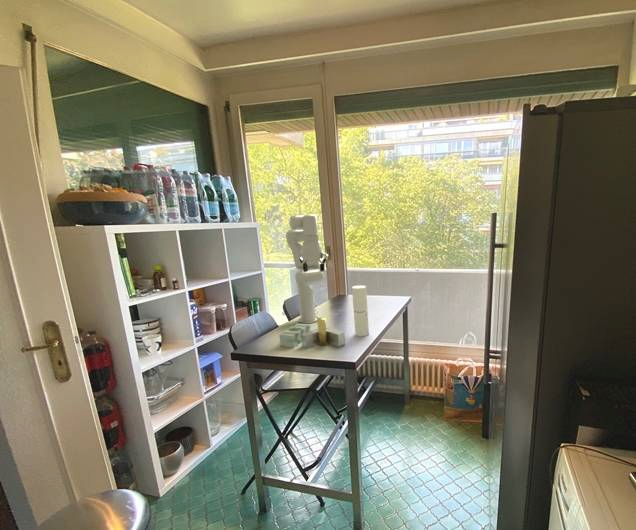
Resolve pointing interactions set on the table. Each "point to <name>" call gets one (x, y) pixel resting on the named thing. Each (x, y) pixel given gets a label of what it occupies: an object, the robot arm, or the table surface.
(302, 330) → the pale green slotted holder
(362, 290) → the cylindrical container
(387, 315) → the table surface
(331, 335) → the v block
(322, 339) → the axle
